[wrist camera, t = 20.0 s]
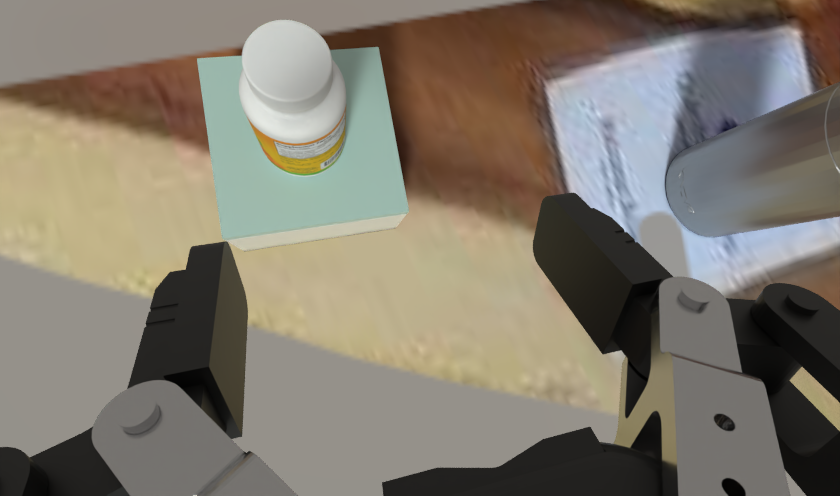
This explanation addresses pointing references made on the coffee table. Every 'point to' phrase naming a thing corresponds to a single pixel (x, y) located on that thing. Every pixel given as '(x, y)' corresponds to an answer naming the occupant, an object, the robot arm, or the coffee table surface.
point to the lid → (291, 195)
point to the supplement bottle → (293, 97)
